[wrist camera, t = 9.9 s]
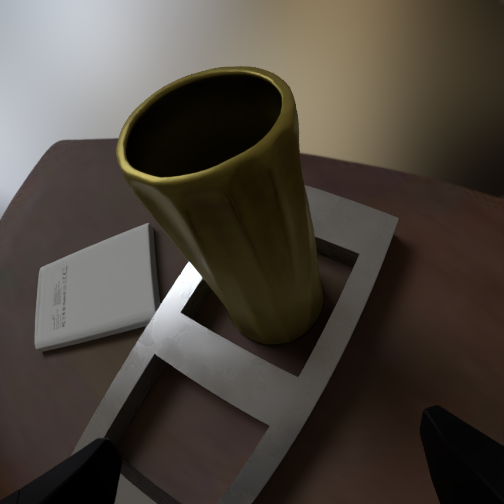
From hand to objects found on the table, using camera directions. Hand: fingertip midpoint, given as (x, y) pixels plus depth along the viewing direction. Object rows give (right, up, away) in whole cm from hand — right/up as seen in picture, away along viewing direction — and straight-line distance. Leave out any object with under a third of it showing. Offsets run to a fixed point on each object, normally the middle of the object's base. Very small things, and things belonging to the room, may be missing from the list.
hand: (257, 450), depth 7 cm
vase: (+1, +2, +13) cm, 13 cm away
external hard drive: (-13, +2, +17) cm, 21 cm away
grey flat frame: (-1, -2, +11) cm, 12 cm away
